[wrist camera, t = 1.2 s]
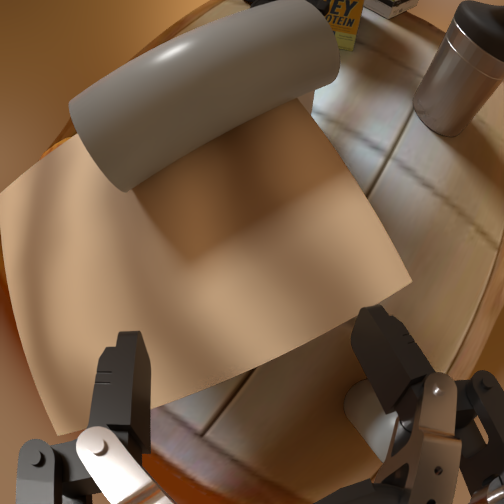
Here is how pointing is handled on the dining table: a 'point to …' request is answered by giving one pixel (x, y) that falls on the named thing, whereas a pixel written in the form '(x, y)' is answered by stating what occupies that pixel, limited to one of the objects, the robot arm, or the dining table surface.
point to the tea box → (389, 6)
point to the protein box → (345, 21)
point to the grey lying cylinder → (203, 87)
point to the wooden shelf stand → (190, 259)
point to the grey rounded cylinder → (370, 417)
